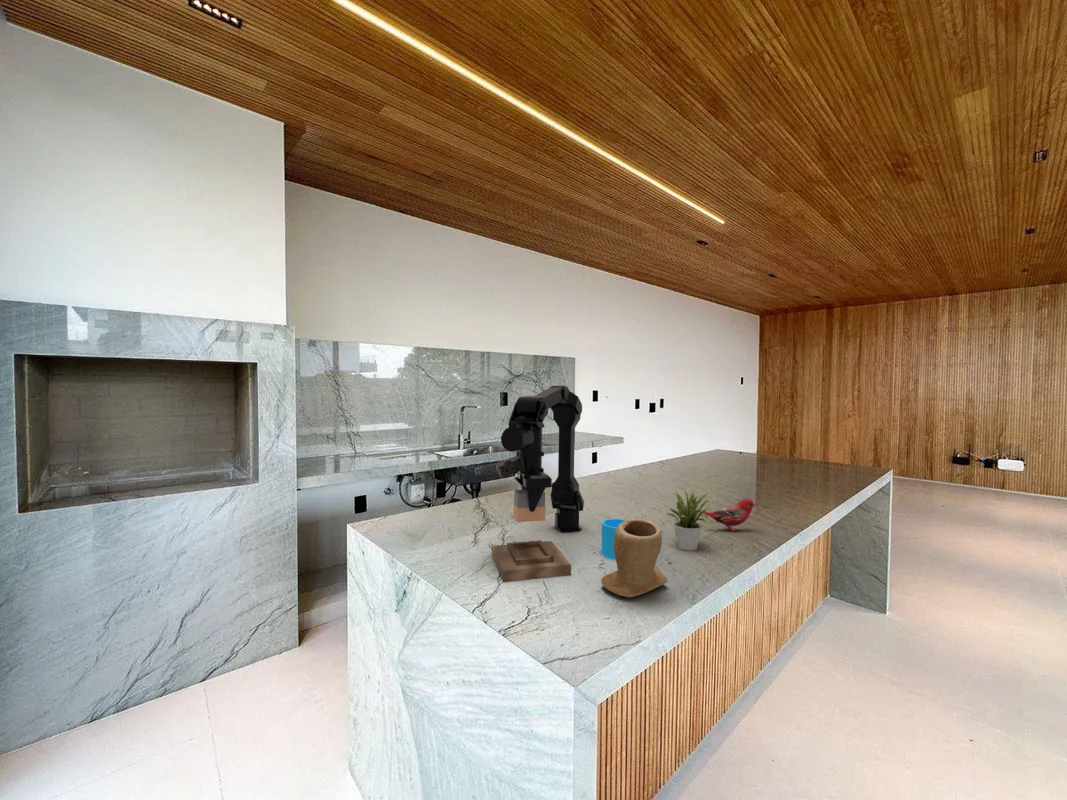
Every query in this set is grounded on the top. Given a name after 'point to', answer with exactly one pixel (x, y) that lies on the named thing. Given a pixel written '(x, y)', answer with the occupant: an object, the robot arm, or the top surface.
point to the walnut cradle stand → (529, 560)
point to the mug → (609, 536)
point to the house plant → (688, 521)
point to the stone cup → (635, 559)
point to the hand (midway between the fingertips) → (529, 508)
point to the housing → (527, 507)
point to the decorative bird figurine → (733, 514)
